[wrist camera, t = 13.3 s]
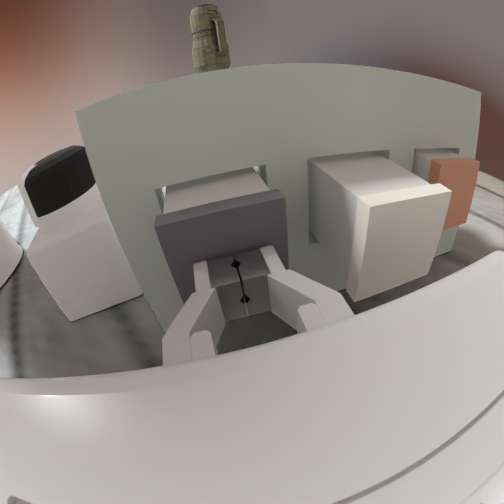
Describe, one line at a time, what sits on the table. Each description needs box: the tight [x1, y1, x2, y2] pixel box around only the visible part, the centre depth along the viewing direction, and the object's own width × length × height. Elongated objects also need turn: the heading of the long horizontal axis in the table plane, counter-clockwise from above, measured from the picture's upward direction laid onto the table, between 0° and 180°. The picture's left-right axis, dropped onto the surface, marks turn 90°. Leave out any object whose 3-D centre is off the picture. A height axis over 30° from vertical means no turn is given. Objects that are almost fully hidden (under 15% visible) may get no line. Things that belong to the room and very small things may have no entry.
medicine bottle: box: [18, 146, 143, 321], centre depth 18 cm, size 7×7×12 cm
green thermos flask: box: [190, 4, 230, 74], centre depth 54 cm, size 9×12×35 cm
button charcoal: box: [154, 167, 289, 304], centre depth 14 cm, size 5×9×5 cm, turn 13°
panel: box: [75, 63, 481, 333], centre depth 17 cm, size 24×8×14 cm, turn 103°
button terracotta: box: [412, 148, 480, 230], centre depth 16 cm, size 5×9×5 cm, turn 13°
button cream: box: [307, 151, 452, 302], centre depth 13 cm, size 5×9×5 cm, turn 13°
